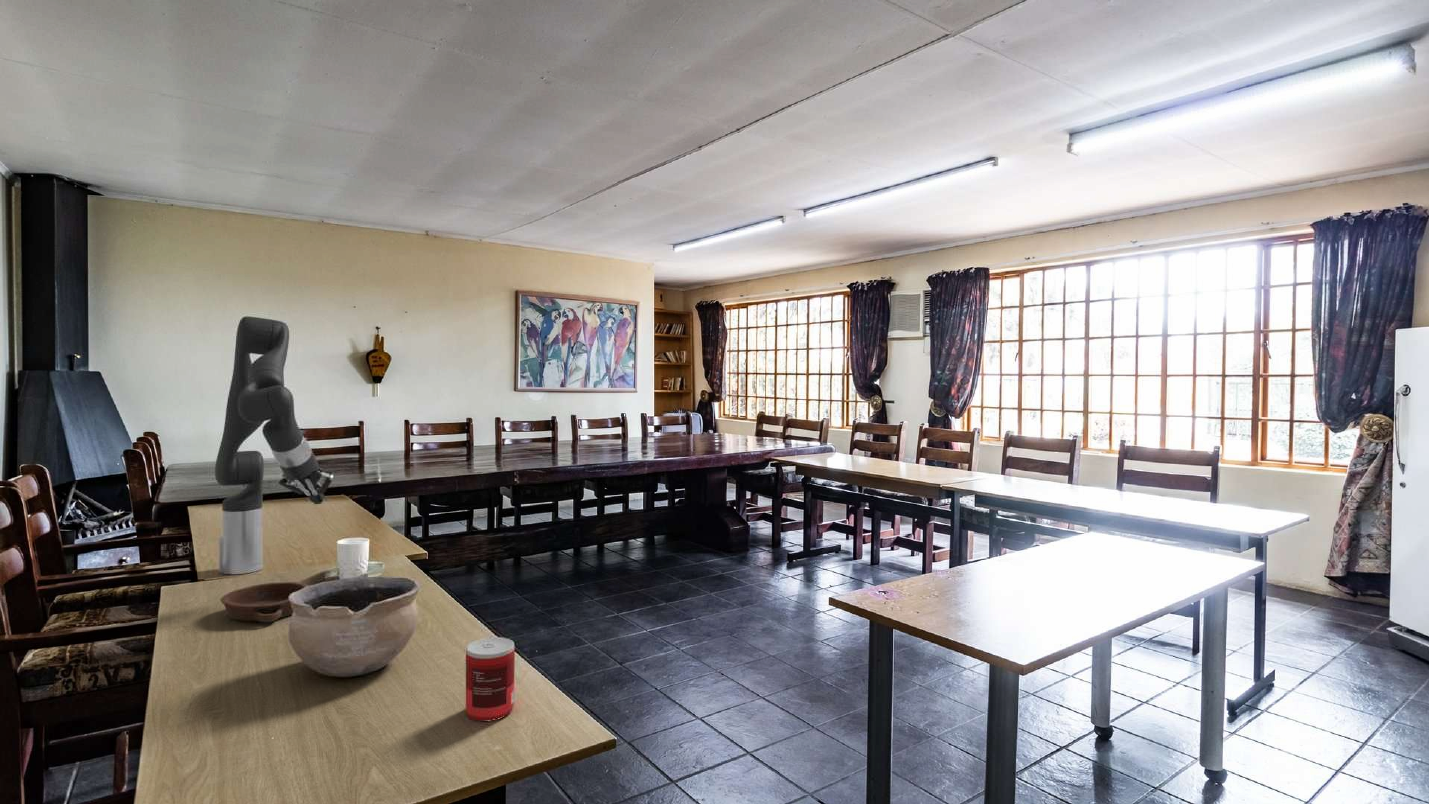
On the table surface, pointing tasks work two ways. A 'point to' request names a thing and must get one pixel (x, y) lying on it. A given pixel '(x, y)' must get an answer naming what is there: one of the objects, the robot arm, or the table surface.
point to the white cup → (352, 557)
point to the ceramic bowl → (353, 623)
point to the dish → (261, 601)
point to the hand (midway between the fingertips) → (319, 501)
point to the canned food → (490, 678)
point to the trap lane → (372, 571)
